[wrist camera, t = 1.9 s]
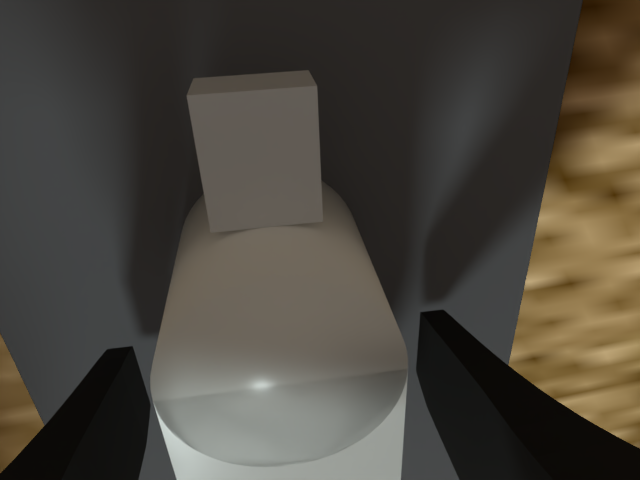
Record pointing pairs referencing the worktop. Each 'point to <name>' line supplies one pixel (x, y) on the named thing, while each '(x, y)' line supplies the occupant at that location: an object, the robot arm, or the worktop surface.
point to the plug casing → (274, 305)
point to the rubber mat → (335, 157)
